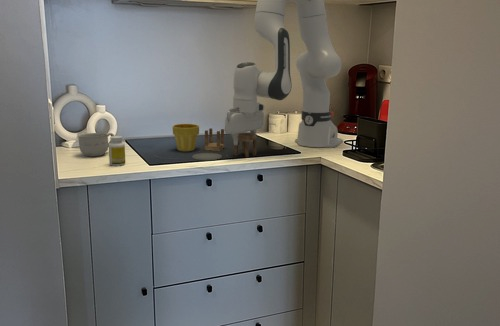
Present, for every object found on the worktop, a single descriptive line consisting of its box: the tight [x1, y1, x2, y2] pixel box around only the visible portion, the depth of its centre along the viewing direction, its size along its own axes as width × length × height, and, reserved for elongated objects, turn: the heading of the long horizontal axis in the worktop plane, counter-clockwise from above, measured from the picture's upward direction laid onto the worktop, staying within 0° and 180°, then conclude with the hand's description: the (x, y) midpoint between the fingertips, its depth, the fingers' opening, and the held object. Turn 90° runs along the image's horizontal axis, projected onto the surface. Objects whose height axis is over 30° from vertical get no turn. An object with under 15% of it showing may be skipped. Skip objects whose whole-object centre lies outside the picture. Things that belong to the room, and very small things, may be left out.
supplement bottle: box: [108, 135, 126, 167], centre depth 174 cm, size 5×5×10 cm
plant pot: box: [172, 123, 200, 152], centre depth 199 cm, size 10×10×10 cm
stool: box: [233, 132, 258, 158], centre depth 191 cm, size 6×6×8 cm
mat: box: [191, 152, 223, 162], centre depth 187 cm, size 11×11×1 cm
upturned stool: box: [204, 127, 225, 152], centre depth 201 cm, size 6×6×8 cm
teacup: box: [77, 132, 115, 157], centre depth 189 cm, size 14×11×8 cm
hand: (244, 143), depth 191 cm, fingers open, 8 cm apart
